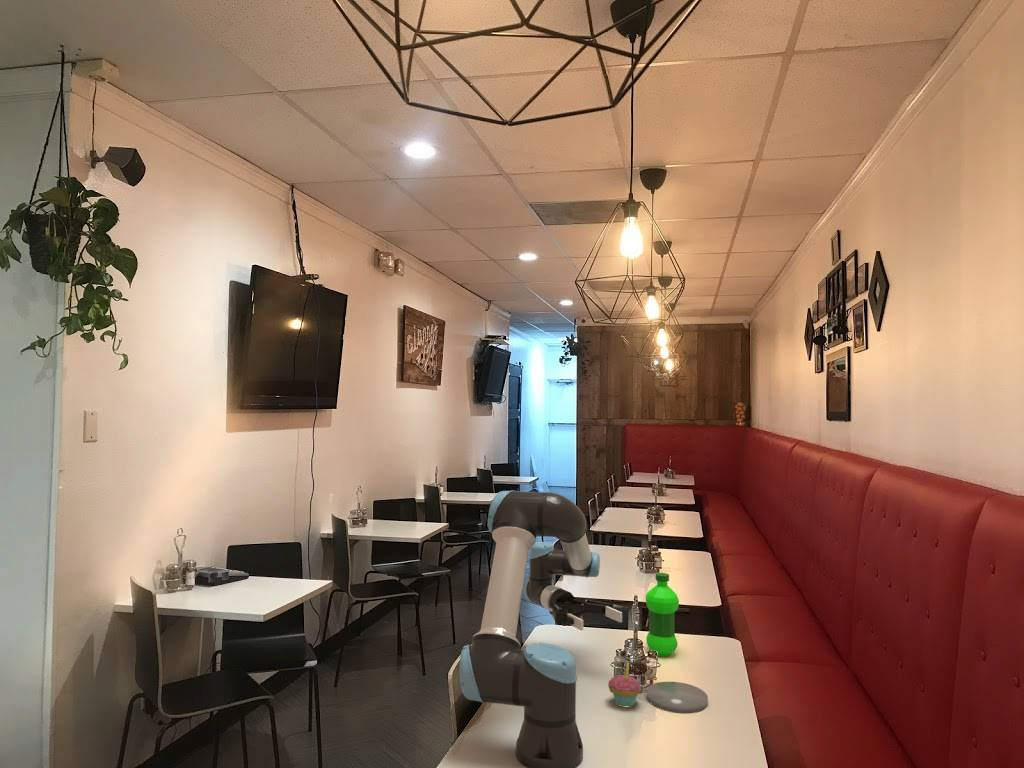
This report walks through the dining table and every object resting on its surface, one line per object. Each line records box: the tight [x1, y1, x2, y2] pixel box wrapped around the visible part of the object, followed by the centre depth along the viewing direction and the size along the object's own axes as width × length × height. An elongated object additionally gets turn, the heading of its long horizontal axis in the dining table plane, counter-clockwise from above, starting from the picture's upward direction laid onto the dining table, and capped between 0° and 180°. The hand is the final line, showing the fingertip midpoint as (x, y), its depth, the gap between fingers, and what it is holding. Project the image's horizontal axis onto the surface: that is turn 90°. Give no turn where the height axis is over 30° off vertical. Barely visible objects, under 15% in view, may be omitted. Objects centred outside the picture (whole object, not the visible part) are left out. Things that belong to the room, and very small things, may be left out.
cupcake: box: [607, 660, 642, 707], centre depth 181 cm, size 9×8×12 cm
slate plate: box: [645, 681, 709, 714], centre depth 183 cm, size 16×16×2 cm
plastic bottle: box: [645, 572, 680, 658], centre depth 217 cm, size 10×10×25 cm
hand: (602, 621), depth 189 cm, fingers open, 13 cm apart
